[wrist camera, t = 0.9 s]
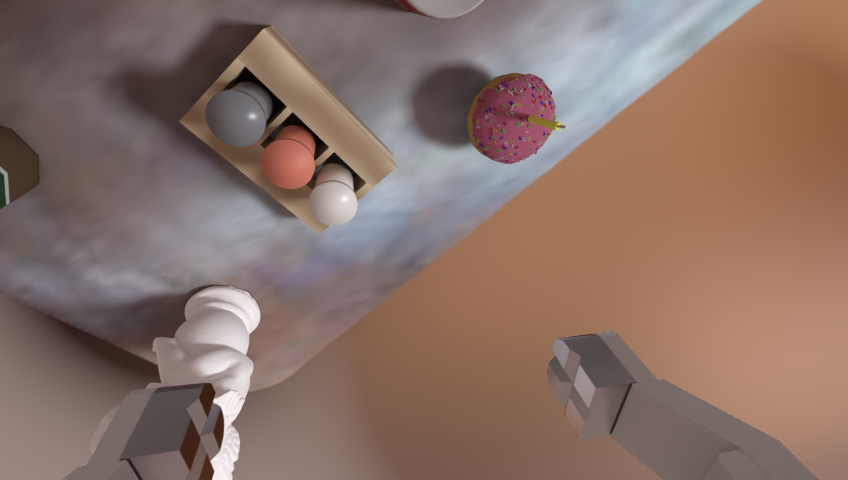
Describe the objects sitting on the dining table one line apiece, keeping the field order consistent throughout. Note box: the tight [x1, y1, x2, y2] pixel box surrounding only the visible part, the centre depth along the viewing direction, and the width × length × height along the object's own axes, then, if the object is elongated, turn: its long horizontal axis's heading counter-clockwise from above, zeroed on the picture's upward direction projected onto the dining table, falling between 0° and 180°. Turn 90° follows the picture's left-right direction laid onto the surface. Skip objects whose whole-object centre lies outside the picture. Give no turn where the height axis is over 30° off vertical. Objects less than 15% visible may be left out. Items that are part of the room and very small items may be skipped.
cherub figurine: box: [90, 286, 260, 480], centre depth 40 cm, size 12×12×22 cm
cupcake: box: [467, 73, 566, 164], centre depth 37 cm, size 9×8×12 cm
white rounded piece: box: [309, 163, 357, 226], centre depth 37 cm, size 4×4×6 cm
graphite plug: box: [205, 82, 273, 147], centre depth 32 cm, size 4×4×6 cm
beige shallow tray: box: [179, 26, 396, 234], centre depth 38 cm, size 11×16×4 cm
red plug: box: [261, 125, 316, 189], centre depth 35 cm, size 4×4×6 cm
